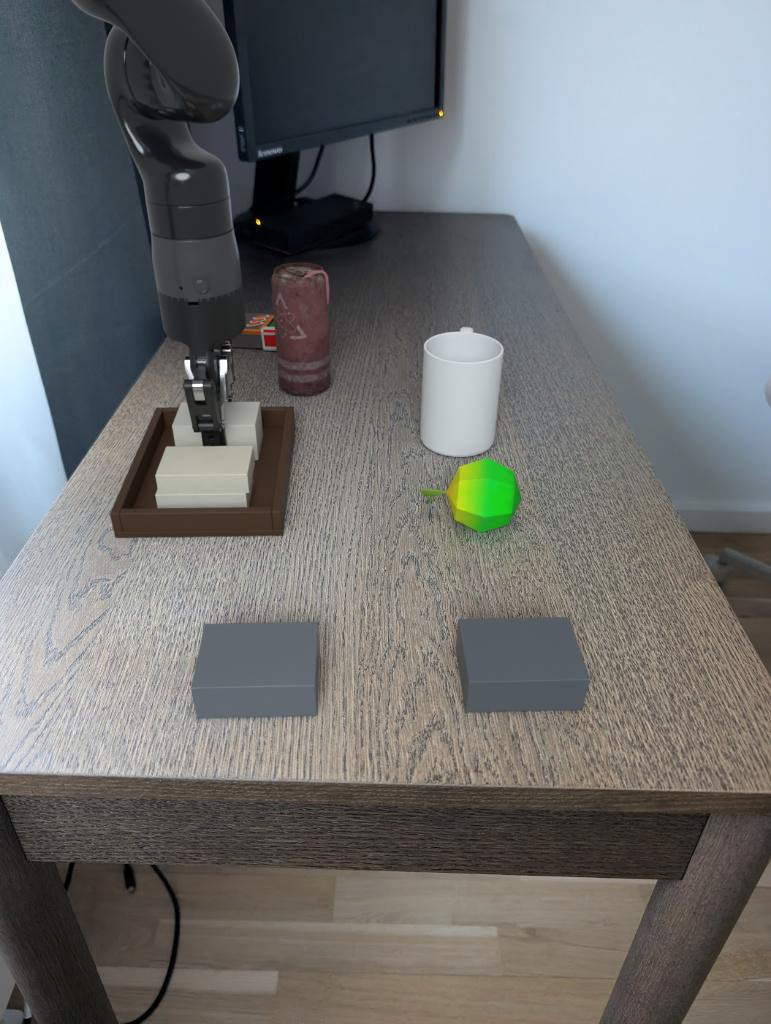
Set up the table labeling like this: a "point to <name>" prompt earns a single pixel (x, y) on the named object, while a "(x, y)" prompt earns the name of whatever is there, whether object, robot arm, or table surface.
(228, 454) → the cream layered block
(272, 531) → the tray
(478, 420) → the mug
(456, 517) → the apple
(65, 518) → the table surface
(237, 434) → the cream rectangular block
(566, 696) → the pair of grey blocks
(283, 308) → the can
